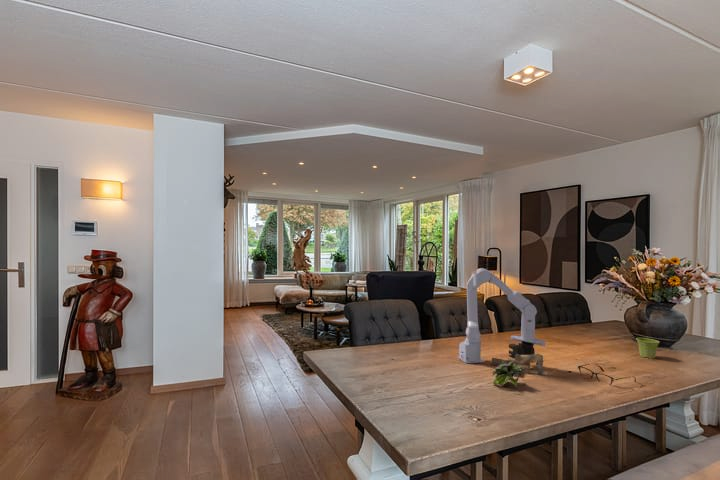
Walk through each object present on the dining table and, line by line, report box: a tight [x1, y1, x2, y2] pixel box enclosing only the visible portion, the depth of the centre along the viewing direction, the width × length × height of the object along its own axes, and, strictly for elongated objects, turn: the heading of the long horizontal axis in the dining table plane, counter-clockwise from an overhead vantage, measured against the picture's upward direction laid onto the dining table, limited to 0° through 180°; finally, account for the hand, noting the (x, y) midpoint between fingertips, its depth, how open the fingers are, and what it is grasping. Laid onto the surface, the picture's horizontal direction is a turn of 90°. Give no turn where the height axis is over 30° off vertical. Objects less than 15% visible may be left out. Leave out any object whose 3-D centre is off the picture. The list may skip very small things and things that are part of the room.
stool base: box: [490, 357, 548, 378], centre depth 154 cm, size 22×22×6 cm
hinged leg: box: [514, 353, 544, 367], centre depth 155 cm, size 14×3×6 cm, turn 107°
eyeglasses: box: [577, 363, 637, 386], centre depth 146 cm, size 16×16×4 cm
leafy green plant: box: [491, 359, 524, 390], centre depth 134 cm, size 11×11×12 cm
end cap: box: [508, 342, 536, 360], centre depth 170 cm, size 10×7×7 cm
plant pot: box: [635, 337, 660, 360], centre depth 178 cm, size 9×9×9 cm
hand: (527, 358), depth 159 cm, fingers closed
